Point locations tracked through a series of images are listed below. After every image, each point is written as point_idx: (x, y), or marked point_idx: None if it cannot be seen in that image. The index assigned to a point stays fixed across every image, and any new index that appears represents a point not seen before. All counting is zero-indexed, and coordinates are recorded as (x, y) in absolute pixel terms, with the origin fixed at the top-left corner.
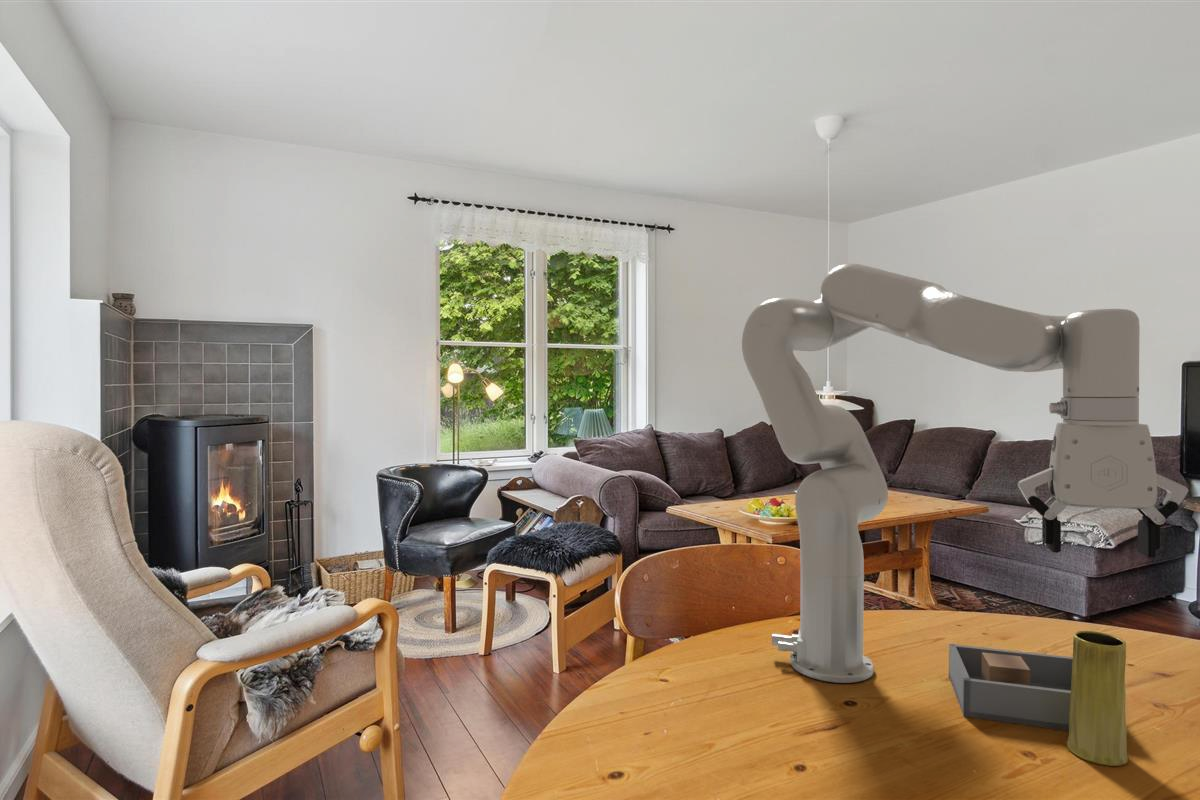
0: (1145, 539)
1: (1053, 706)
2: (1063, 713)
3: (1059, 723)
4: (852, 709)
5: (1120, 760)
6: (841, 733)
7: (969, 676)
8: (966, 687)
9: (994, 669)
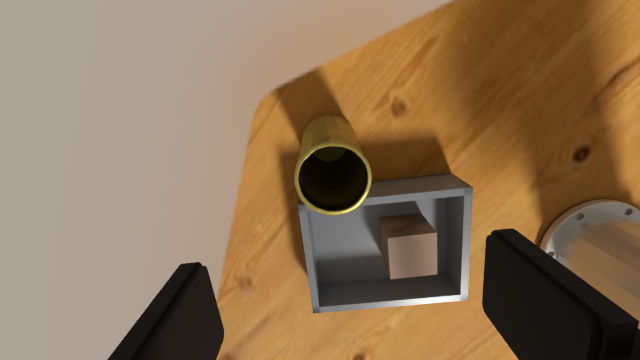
0: (185, 326)
1: None
2: None
3: None
4: (581, 137)
5: (311, 121)
6: (607, 65)
7: None
8: (465, 184)
9: (429, 231)
